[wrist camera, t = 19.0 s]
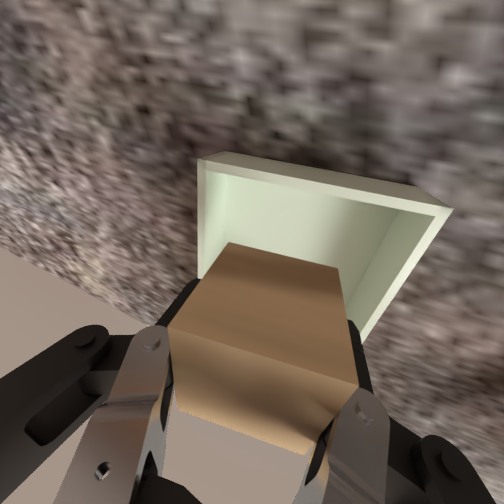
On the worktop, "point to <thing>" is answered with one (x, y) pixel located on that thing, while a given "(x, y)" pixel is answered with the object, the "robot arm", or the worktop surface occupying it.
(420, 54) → the worktop surface
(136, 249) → the worktop surface
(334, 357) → the oak block
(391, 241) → the box
